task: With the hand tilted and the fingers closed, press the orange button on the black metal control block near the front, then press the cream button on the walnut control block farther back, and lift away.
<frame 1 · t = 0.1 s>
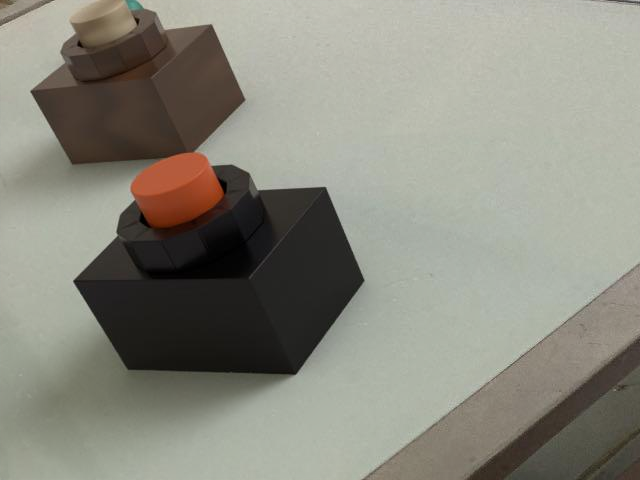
back button: (103, 23, 79), point 8 cm above the table, slide at 0.1 cm
front block: (246, 325, 62), on the table
back block: (159, 132, 85), on the table
front button: (177, 191, 57), point 8 cm above the table, slide at 0.1 cm
whale figurine: (131, 46, 101), on the table
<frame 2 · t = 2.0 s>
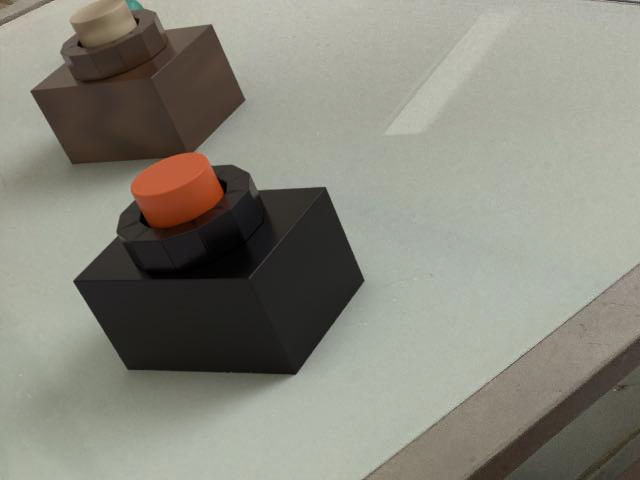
nothing on the table moved.
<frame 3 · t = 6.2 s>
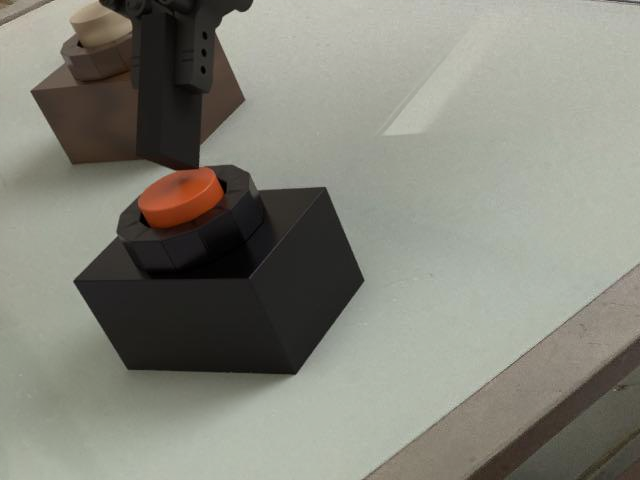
hand: (167, 162, 56), 9 cm above the table, tool tilted 45°, fingers closed
front button: (185, 205, 57), point 7 cm above the table, slide at -0.7 cm, touching gripper
everything else where it was.
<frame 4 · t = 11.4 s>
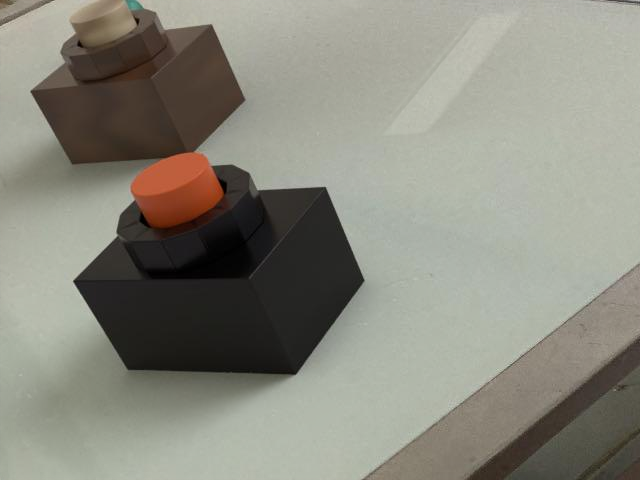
front button: (177, 191, 57), point 8 cm above the table, slide at 0.1 cm
everything else where it was.
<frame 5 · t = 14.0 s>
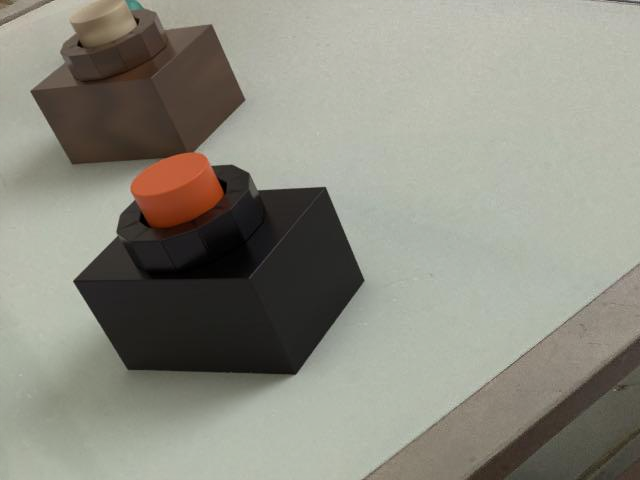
nothing on the table moved.
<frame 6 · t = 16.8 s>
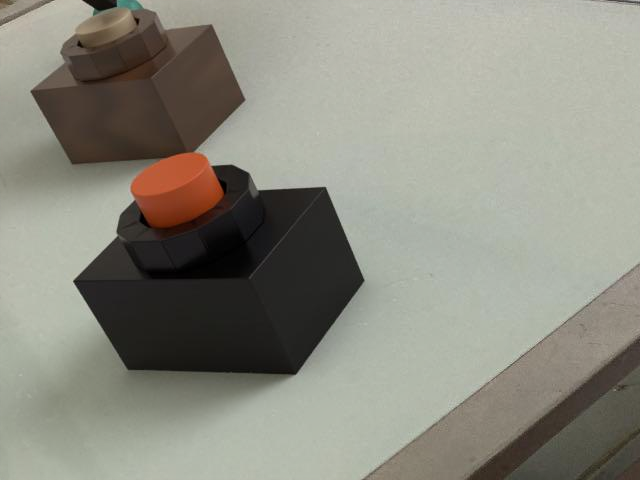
hand: (95, 0, 79), 10 cm above the table, tool tilted 45°, fingers closed
back button: (109, 34, 80), point 7 cm above the table, slide at -0.7 cm, touching gripper
everything else where it was.
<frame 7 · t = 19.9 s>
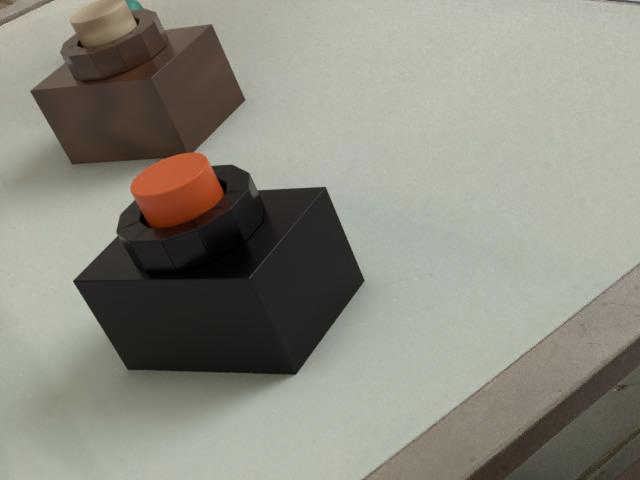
back button: (103, 23, 79), point 8 cm above the table, slide at 0.1 cm
everything else where it was.
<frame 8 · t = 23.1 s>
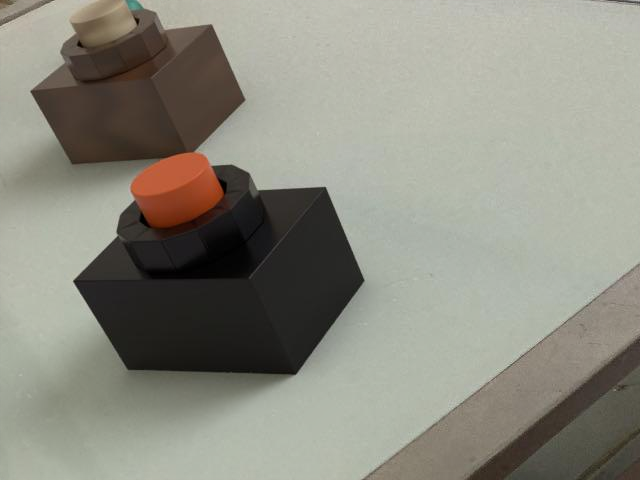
nothing on the table moved.
at the end: front button pushed in 1.3 cm at the most during the clip, back to where it started at the end; back button pushed in 1.3 cm at the most during the clip, back to where it started at the end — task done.
